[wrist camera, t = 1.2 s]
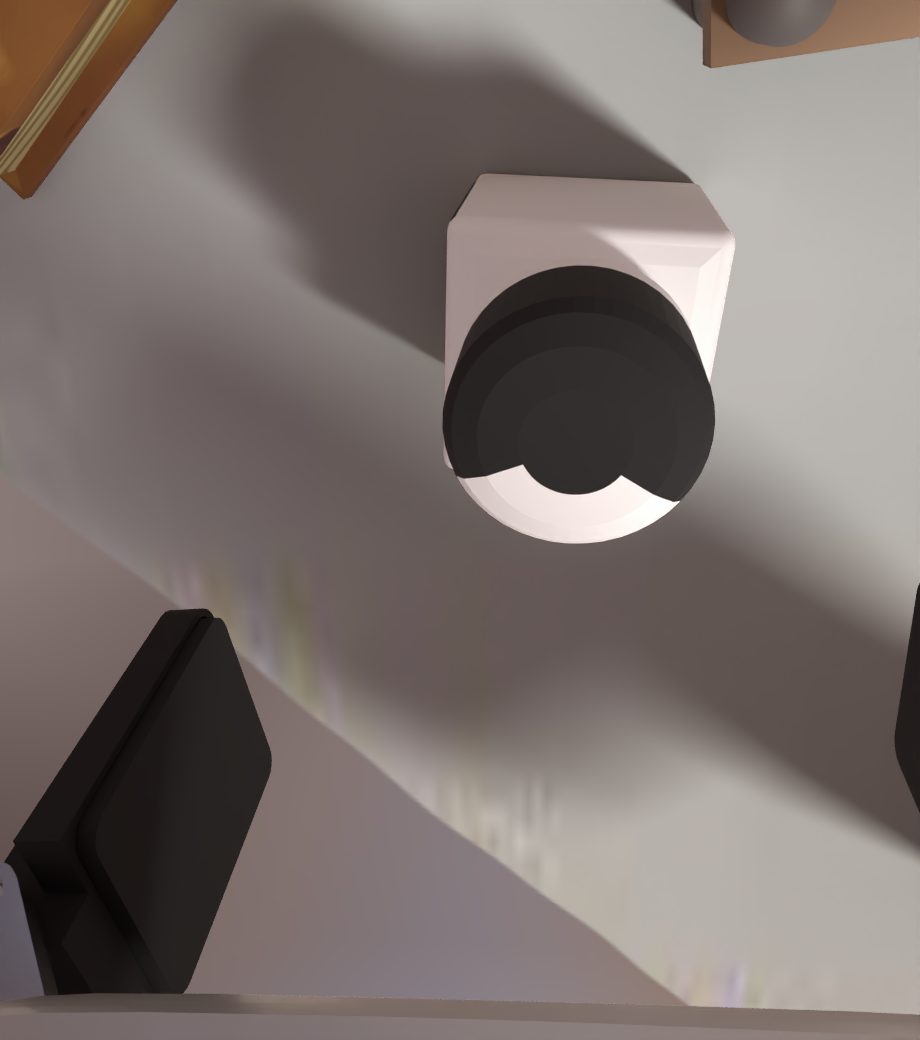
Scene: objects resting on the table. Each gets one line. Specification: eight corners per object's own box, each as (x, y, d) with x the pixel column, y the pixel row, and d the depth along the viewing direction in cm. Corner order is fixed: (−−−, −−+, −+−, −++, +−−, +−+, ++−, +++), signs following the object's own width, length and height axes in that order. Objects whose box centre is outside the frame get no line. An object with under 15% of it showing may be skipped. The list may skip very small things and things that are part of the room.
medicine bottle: (475, 170, 27) (412, 268, 17) (704, 181, 27) (780, 290, 16) (469, 381, 31) (413, 566, 21) (669, 395, 30) (714, 593, 20)
